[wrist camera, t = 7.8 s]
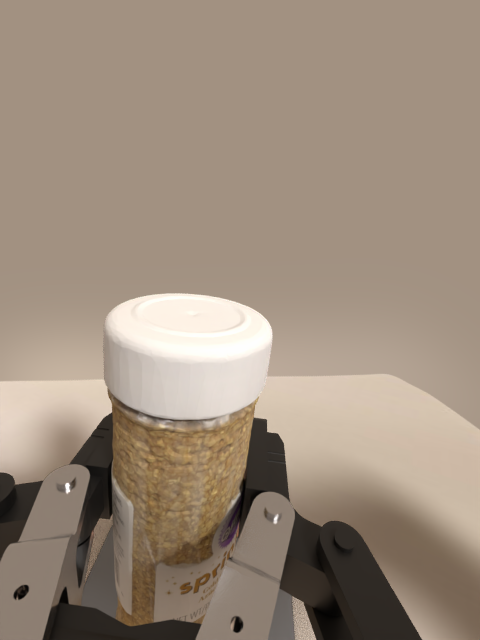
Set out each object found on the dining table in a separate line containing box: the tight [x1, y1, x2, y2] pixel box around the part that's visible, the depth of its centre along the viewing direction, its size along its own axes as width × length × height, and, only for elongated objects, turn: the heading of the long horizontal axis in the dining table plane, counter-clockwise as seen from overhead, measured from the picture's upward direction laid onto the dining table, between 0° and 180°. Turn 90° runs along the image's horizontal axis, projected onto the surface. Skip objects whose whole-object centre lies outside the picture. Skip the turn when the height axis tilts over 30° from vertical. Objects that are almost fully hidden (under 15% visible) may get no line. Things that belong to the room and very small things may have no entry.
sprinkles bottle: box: [103, 294, 272, 626], centre depth 11 cm, size 5×5×14 cm
